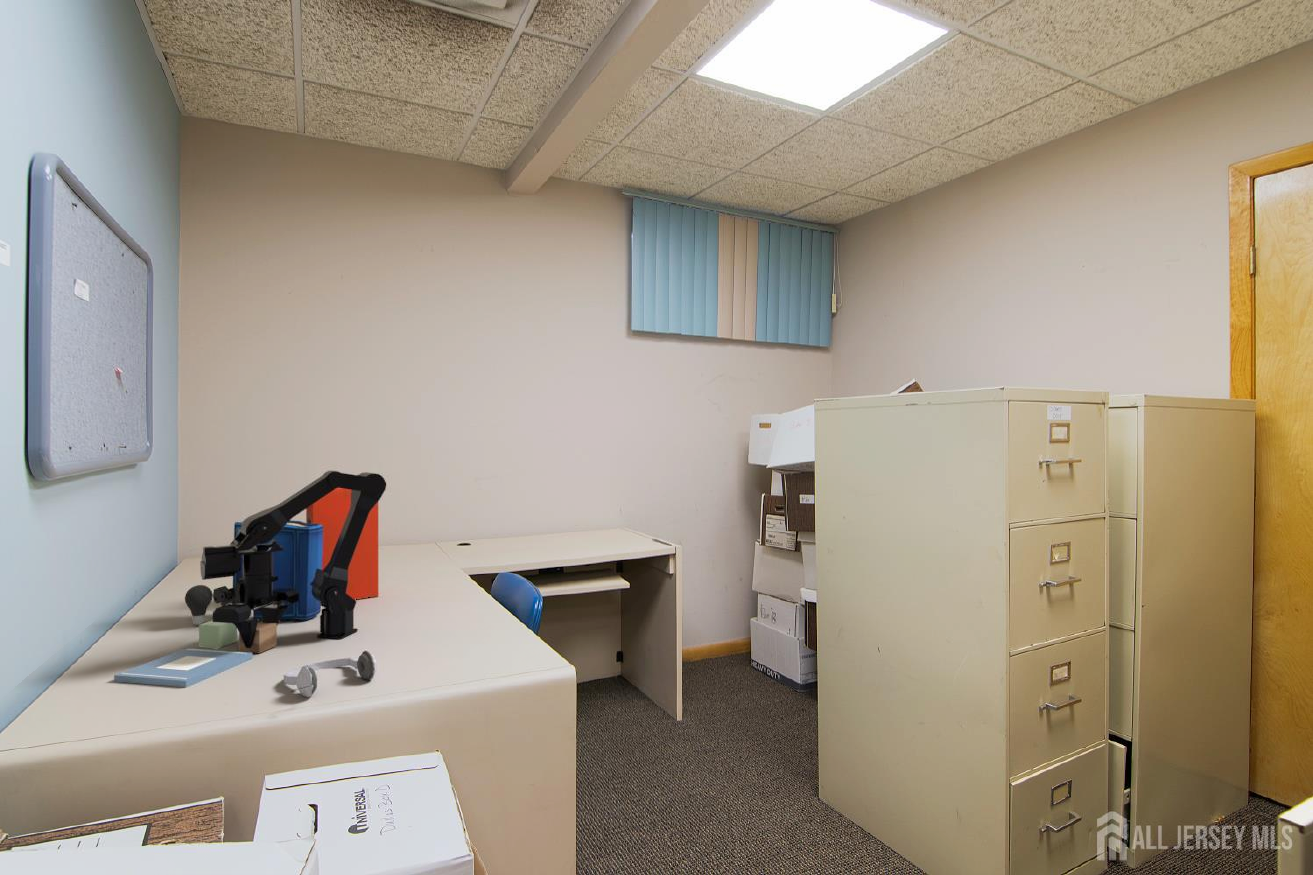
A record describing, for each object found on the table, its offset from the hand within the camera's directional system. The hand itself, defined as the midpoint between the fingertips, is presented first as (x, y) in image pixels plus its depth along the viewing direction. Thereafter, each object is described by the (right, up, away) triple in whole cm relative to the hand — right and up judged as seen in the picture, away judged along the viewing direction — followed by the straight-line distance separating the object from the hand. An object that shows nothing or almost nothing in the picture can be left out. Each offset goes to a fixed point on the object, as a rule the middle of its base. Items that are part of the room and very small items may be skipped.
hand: (258, 643), depth 144 cm
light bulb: (-25, -1, +18) cm, 31 cm away
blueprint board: (-7, -1, -12) cm, 14 cm away
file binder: (-3, -1, +44) cm, 44 cm away
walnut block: (0, -1, 0) cm, 1 cm away
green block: (-11, -1, +4) cm, 12 cm away
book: (-10, -1, +25) cm, 27 cm away
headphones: (+25, -2, -20) cm, 31 cm away
